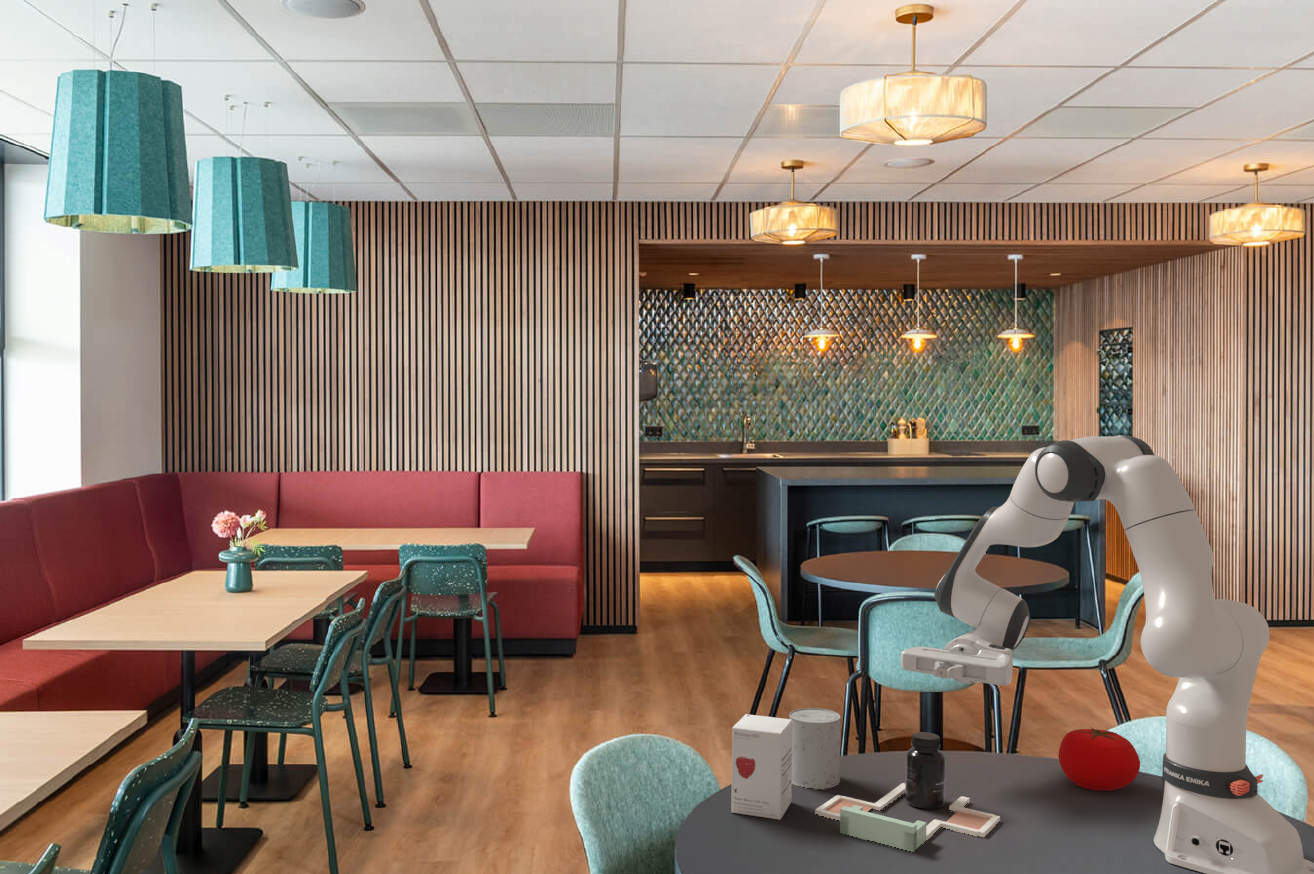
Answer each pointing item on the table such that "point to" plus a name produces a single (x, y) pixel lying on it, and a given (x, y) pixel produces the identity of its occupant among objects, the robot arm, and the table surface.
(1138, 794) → the table surface
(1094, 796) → the table surface
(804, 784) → the speckled concrete cylinder
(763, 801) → the supplement box
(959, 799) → the trap lane
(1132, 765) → the tomato
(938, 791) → the supplement bottle
